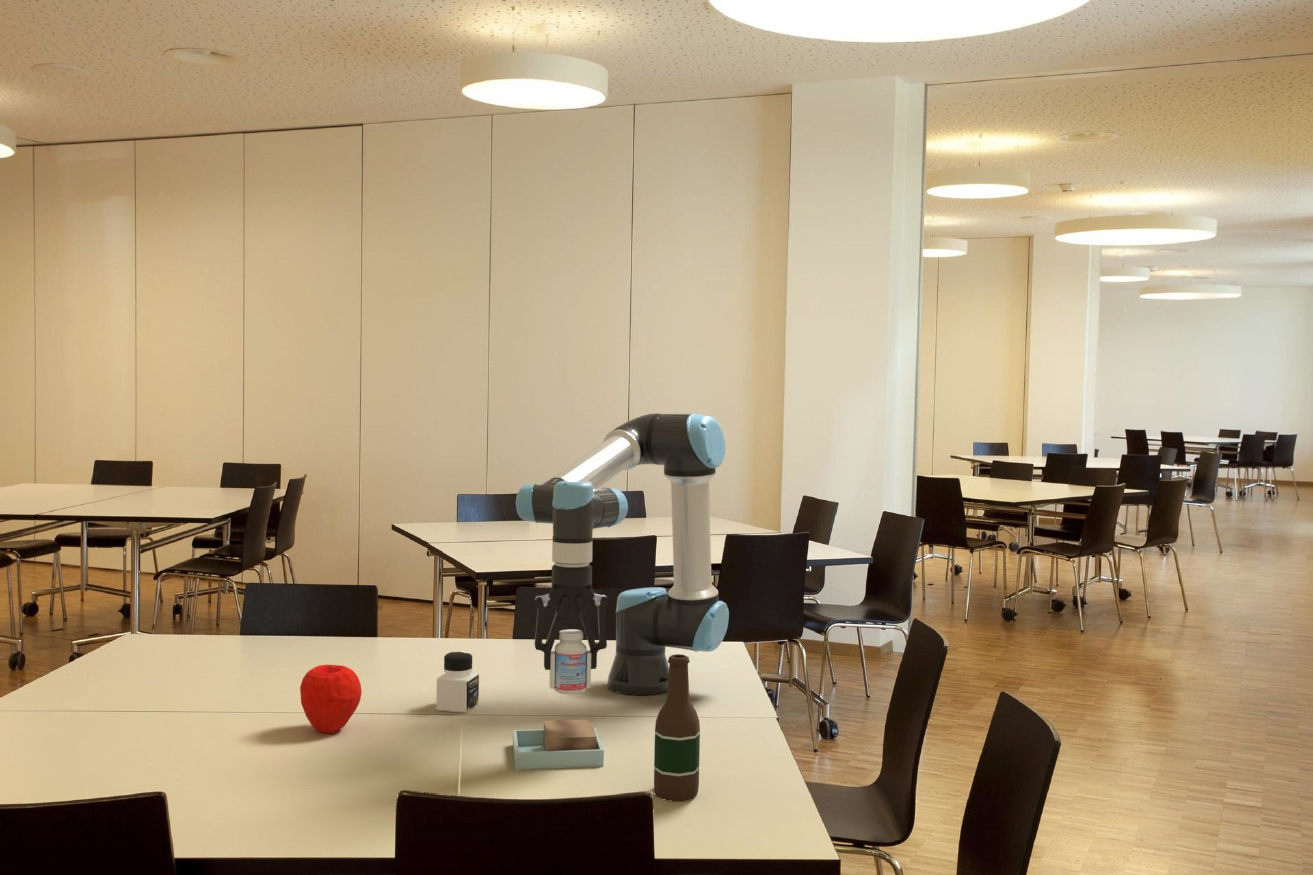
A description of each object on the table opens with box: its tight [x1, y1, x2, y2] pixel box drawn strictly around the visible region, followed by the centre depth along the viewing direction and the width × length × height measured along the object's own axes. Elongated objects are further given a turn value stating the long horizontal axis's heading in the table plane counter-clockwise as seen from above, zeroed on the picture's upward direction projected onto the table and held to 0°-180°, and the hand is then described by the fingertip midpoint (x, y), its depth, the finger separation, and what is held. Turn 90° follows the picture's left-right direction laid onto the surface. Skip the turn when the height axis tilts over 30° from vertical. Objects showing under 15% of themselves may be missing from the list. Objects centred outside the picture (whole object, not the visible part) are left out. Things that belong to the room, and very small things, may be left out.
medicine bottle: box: [435, 650, 480, 714], centre depth 240 cm, size 7×7×12 cm
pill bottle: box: [553, 628, 588, 695], centre depth 207 cm, size 6×6×11 cm
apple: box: [299, 664, 363, 735], centre depth 222 cm, size 12×12×13 cm
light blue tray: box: [512, 727, 605, 770], centre depth 207 cm, size 16×14×4 cm
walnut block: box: [543, 718, 597, 751], centre depth 208 cm, size 9×11×5 cm
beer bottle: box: [653, 653, 701, 802], centre depth 189 cm, size 8×8×24 cm
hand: (570, 685), depth 207 cm, fingers closed on pill bottle, 6 cm apart
